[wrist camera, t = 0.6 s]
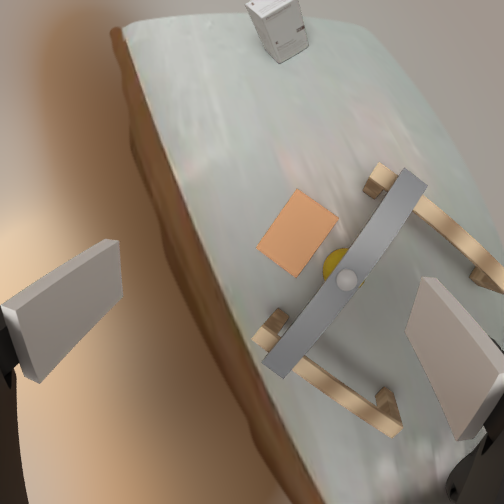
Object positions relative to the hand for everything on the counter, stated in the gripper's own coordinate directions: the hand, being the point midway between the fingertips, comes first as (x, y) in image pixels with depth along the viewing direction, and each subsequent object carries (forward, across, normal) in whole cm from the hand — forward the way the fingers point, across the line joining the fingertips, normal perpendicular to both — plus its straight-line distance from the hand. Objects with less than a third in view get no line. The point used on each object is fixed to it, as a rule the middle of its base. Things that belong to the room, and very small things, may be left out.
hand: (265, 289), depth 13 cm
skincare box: (+40, +1, -23) cm, 46 cm away
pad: (+31, -3, +6) cm, 31 cm away
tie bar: (+19, -8, +7) cm, 21 cm away
